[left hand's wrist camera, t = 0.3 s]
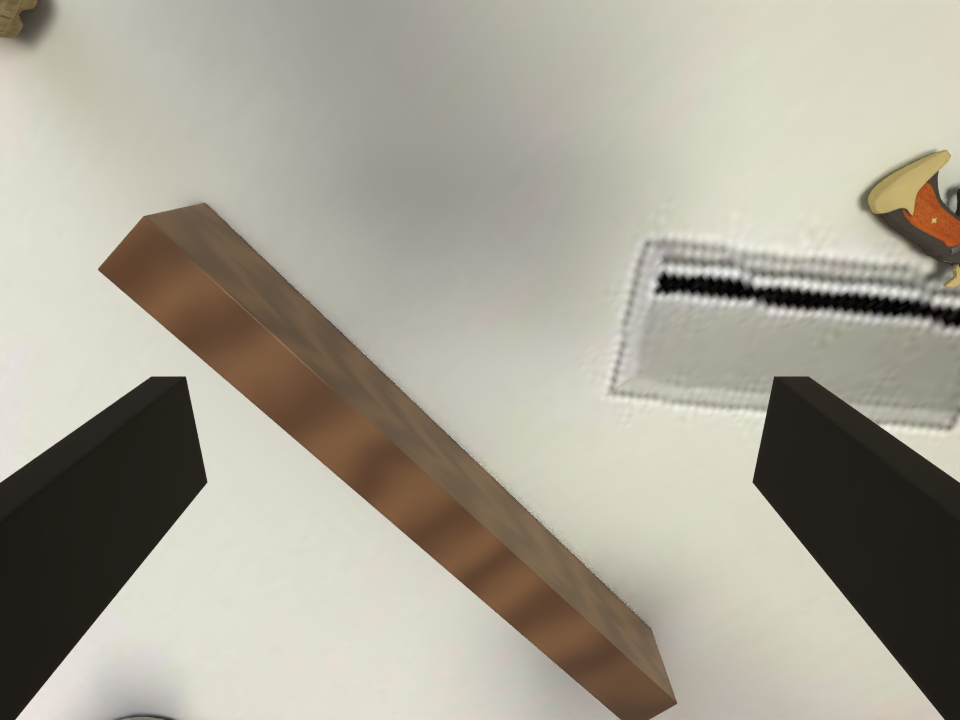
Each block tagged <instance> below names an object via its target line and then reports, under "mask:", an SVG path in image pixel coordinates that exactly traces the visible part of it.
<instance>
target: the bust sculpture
mask: <svg viewBox="0 0 960 720" xmlns="http://www.w3.org/2000/svg"><path fill="white" fill-rule="evenodd" d="M121 720H164V719H159V718H152V717H131V718H125V719H121Z"/></svg>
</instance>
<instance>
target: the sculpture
mask: <svg viewBox="0 0 960 720" xmlns="http://www.w3.org/2000/svg"><path fill="white" fill-rule="evenodd" d="M37 1H38V0H0V38H1V37H8V38H15V37H17V36H18V34H19V33H20V31H21V30H22V29H23V26H24V23H23V20H22V19H21V18H20V17H19V15H20V13H21V12H22V11H23V10H29V9H33V8H34V7H35V6H36V4H37Z"/></svg>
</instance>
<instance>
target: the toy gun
mask: <svg viewBox="0 0 960 720" xmlns="http://www.w3.org/2000/svg"><path fill="white" fill-rule="evenodd" d="M950 157H951V155H950V154H949V152H948V151H947V150H943V151H940V152H937V153H934V154H931V155H929V156H926V157H924V158H922V159H920V160H918V161H916V162H914V163H912V164H910V165H908V166H906V167H904V168H902V169H900V170H898V171H896V172H894V173H893V174H891V175H889V176H888V177H887V178H885V179H884V180H882V181H881V182H880V183H878V184H877V185H876V186H875V187H874V188H873V190H872V191H871V193H870V194H869V197H868V205H869V207H870V209H871V211H872V213H874V214H880V215H881V216H882V217H883V218H884V219H885V220H886V222H887V223H888V224H889V225H890V226H891V227H893V228H894V229H895V230H896V231H898V232H899V233H900V234H902V235H903V236H905V237H907V238H908V239H910V240H912V241H913V242H915V243H916V244H918V245H919V246H920V247H922V248H923V250H924V252H925V254H926V255H928V256H932V257H933V258H934V259H936V260H939V261H943V262H947V263H950V264H952V265H954V266H953V274H954V276H953V277H952V278H951V279H950V280H948V281H947V282H946V283H945V284H943V285H944V286H947V287H954V286H958V285H960V189H958V191H957V210H956V213H955V214H954V213H953V212H952V211H951V210H950V209H949V208H948V207H947V206H946V205H945V204H944V203H943V201H942V200H941V198H940V195H939V191H938V178H937V177H938V172H939V170H940V169H941V168H942V167H943V166H944V165H945V164H946V163H947V162H948V161H949V159H950Z"/></svg>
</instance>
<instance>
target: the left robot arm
mask: <svg viewBox="0 0 960 720" xmlns="http://www.w3.org/2000/svg"><path fill="white" fill-rule="evenodd" d="M206 483H207V478H206V473H205V468H204V463H203V458H202V453H201V448H200V444H199V439H198V434H197V429H196V424H195V419H194V414H193V409H192V405H191V400H190V395H189V390H188V385H187V380H186V377H150V378H149V379H147V380H146V381H144V382H143V383H142V384H140V385H139V386H137V387H136V388H135V389H133V390H132V391H130V392H129V393H127V394H126V395H125V396H123V397H122V398H120V399H119V400H117V401H116V402H115V403H113V404H112V405H110V406H109V407H107V408H106V409H105V410H103V411H102V412H100V413H99V414H98V415H96V416H95V417H93V418H92V419H90V420H89V421H88V422H86V423H85V424H83V425H82V426H80V427H79V428H78V429H76V430H75V431H73V432H72V433H70V434H69V435H68V436H66V437H65V438H63V439H62V440H61V441H59V442H58V443H56V444H55V445H53V446H52V447H51V448H49V449H48V450H46V451H45V452H43V453H42V454H41V455H39V456H38V457H36V458H35V459H34V460H32V461H31V462H29V463H28V464H26V465H25V466H24V467H22V468H21V469H19V470H18V471H16V472H15V473H14V474H12V475H11V476H9V477H8V478H6V479H5V480H4V481H2V482H1V483H0V720H15V719H16V718H17V717H18V716H19V714H20V713H21V712H22V711H23V709H24V708H25V707H26V706H27V705H28V703H29V702H30V701H31V700H32V698H33V697H34V696H35V695H36V693H37V692H38V691H39V690H40V688H41V687H42V686H43V685H44V684H45V682H46V681H47V680H48V679H49V677H50V676H51V675H52V674H53V672H54V671H55V670H56V669H57V667H58V666H59V665H60V664H61V663H62V661H63V660H64V659H65V658H66V656H67V655H68V654H69V653H70V651H71V650H72V649H73V648H74V646H75V645H76V644H77V643H78V642H79V640H80V639H81V638H82V637H83V635H84V634H85V633H86V632H87V630H88V629H89V628H90V627H91V625H92V624H93V623H94V622H95V621H96V619H97V618H98V617H99V616H100V614H101V613H102V612H103V611H104V609H105V608H106V607H107V606H108V604H109V603H110V602H111V601H112V600H113V598H114V597H115V596H116V595H117V593H118V592H119V591H120V590H121V588H122V587H123V586H124V585H125V583H126V582H127V581H128V580H129V579H130V577H131V576H132V575H133V574H134V572H135V571H136V570H137V569H138V567H139V566H140V565H141V564H142V562H143V561H144V560H145V559H146V558H147V556H148V555H149V554H150V553H151V551H152V550H153V549H154V548H155V546H156V545H157V544H158V543H159V541H160V540H161V539H162V538H163V537H164V535H165V534H166V533H167V532H168V530H169V529H170V528H171V527H172V525H173V524H174V523H175V522H176V520H177V519H178V518H179V517H180V516H181V514H182V513H183V512H184V511H185V509H186V508H187V507H188V506H189V504H190V503H191V502H192V501H193V499H194V498H195V497H196V496H197V495H198V493H199V492H200V491H201V490H202V488H203V487H204V486H205V485H206ZM753 483H754V485H755V486H756V487H757V488H758V490H759V491H760V492H761V493H762V495H763V496H764V497H765V498H766V499H767V501H768V502H769V503H770V504H771V506H772V507H773V508H774V509H775V511H776V512H777V513H778V514H779V516H780V517H781V518H782V519H783V520H784V522H785V523H786V524H787V525H788V527H789V528H790V529H791V530H792V532H793V533H794V534H795V535H796V537H797V538H798V539H799V540H800V541H801V543H802V544H803V545H804V546H805V548H806V549H807V550H808V551H809V553H810V554H811V555H812V556H813V558H814V559H815V560H816V561H817V562H818V564H819V565H820V566H821V567H822V569H823V570H824V571H825V572H826V574H827V575H828V576H829V577H830V579H831V580H832V581H833V582H834V583H835V585H836V586H837V587H838V588H839V590H840V591H841V592H842V593H843V595H844V596H845V597H846V598H847V600H848V601H849V602H850V603H851V604H852V606H853V607H854V608H855V609H856V611H857V612H858V613H859V614H860V616H861V617H862V618H863V619H864V621H865V622H866V623H867V624H868V625H869V627H870V628H871V629H872V630H873V632H874V633H875V634H876V635H877V637H878V638H879V639H880V640H881V642H882V643H883V644H884V645H885V646H886V648H887V649H888V650H889V651H890V653H891V654H892V655H893V656H894V658H895V659H896V660H897V661H898V663H899V664H900V665H901V666H902V667H903V669H904V670H905V671H906V672H907V674H908V675H909V676H910V677H911V679H912V680H913V681H914V682H915V684H916V685H917V686H918V687H919V688H920V690H921V691H922V692H923V693H924V695H925V696H926V697H927V698H928V700H929V701H930V702H931V703H932V705H933V706H934V707H935V708H936V709H937V711H938V712H939V713H940V714H941V716H942V717H943V718H944V719H945V720H960V483H959V482H958V481H956V480H955V479H954V478H952V477H951V476H949V475H948V474H946V473H945V472H944V471H942V470H941V469H939V468H938V467H936V466H935V465H934V464H932V463H931V462H929V461H928V460H926V459H925V458H924V457H922V456H921V455H919V454H918V453H917V452H915V451H914V450H912V449H911V448H909V447H908V446H907V445H905V444H904V443H902V442H901V441H899V440H898V439H897V438H895V437H894V436H892V435H891V434H889V433H888V432H887V431H885V430H884V429H882V428H881V427H880V426H878V425H877V424H875V423H874V422H872V421H871V420H870V419H868V418H867V417H865V416H864V415H862V414H861V413H860V412H858V411H857V410H855V409H854V408H853V407H851V406H850V405H848V404H847V403H845V402H844V401H843V400H841V399H840V398H838V397H837V396H835V395H834V394H833V393H831V392H830V391H828V390H827V389H825V388H824V387H823V386H821V385H820V384H818V383H817V382H816V381H814V380H813V379H811V378H810V377H774V380H773V385H772V390H771V395H770V400H769V405H768V409H767V414H766V419H765V424H764V429H763V434H762V439H761V444H760V448H759V453H758V458H757V463H756V468H755V473H754V478H753Z"/></svg>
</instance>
